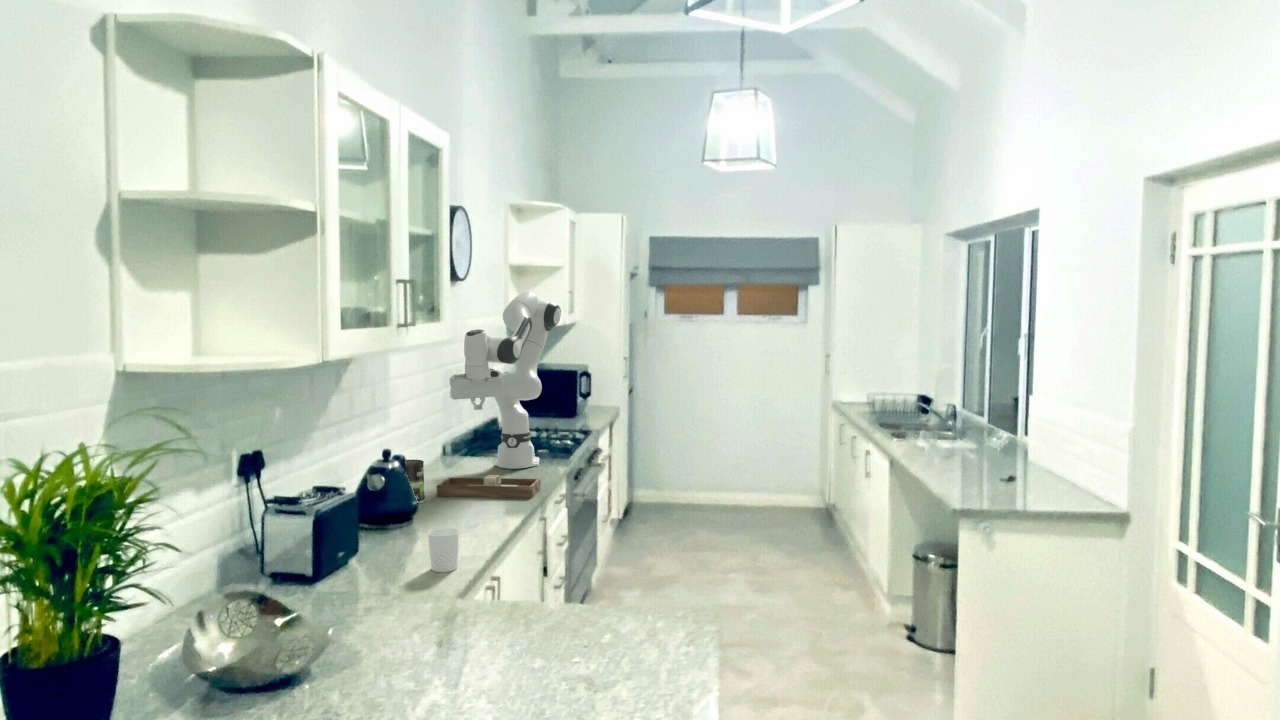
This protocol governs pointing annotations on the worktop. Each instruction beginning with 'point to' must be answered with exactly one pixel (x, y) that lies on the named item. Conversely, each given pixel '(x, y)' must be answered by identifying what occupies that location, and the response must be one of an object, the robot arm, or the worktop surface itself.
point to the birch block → (492, 480)
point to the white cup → (443, 549)
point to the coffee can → (416, 478)
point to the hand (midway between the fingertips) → (478, 409)
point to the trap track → (488, 488)
